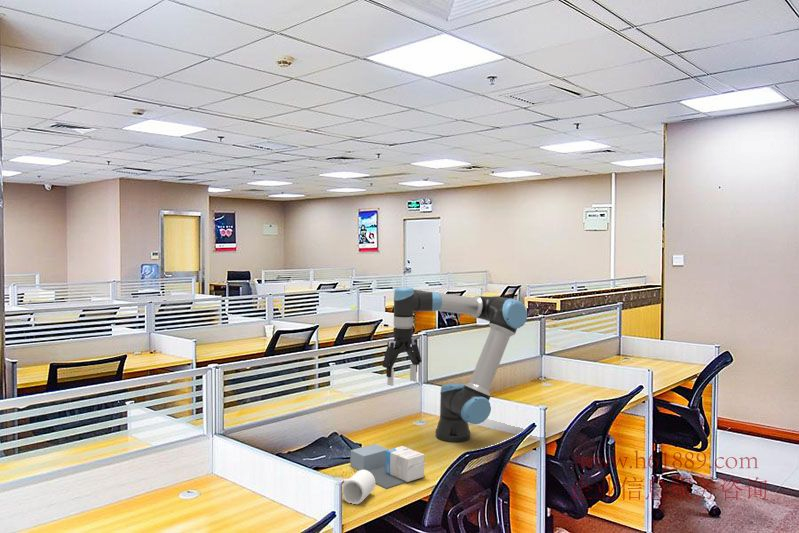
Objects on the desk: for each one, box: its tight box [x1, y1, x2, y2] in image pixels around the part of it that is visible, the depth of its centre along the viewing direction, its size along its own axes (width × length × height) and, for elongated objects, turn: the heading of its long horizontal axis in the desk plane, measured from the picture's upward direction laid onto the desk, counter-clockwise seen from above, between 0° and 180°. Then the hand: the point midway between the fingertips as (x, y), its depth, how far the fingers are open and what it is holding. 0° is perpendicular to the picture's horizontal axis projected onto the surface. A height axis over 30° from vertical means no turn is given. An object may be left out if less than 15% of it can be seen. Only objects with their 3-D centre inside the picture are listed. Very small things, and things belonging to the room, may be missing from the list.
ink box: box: [385, 445, 428, 483], centre depth 223 cm, size 9×8×13 cm
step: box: [349, 443, 390, 471], centre depth 233 cm, size 12×8×6 cm, turn 131°
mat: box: [369, 466, 425, 490], centre depth 224 cm, size 18×16×1 cm
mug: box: [342, 470, 376, 505], centre depth 204 cm, size 12×10×8 cm
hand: (401, 383), depth 243 cm, fingers open, 11 cm apart
